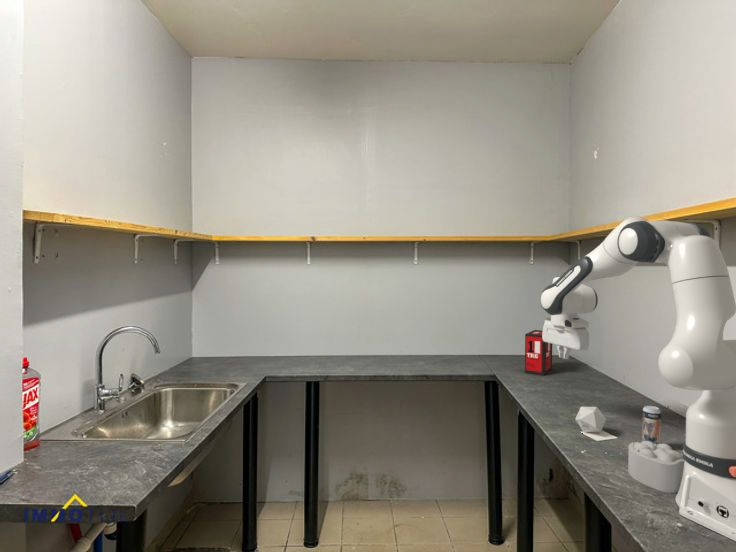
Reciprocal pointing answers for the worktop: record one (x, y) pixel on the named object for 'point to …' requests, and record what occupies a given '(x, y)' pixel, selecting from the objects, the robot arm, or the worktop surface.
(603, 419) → the die
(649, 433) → the beer can
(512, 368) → the worktop surface
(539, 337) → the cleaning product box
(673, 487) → the lumpy-topped squat cylinder
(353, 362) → the worktop surface
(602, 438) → the pad
